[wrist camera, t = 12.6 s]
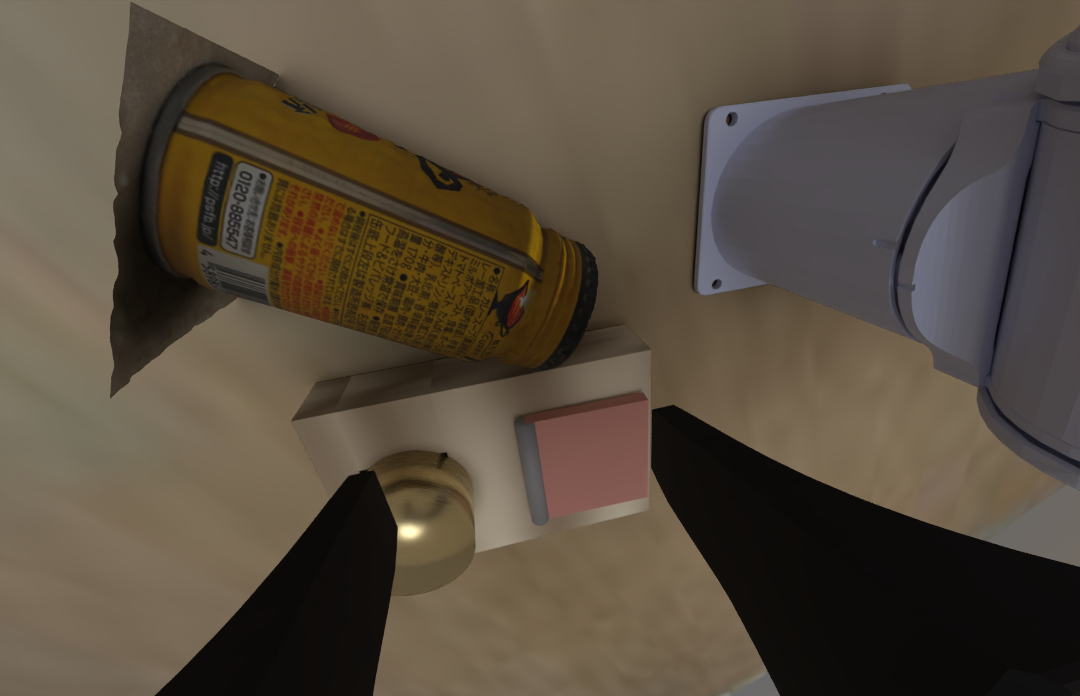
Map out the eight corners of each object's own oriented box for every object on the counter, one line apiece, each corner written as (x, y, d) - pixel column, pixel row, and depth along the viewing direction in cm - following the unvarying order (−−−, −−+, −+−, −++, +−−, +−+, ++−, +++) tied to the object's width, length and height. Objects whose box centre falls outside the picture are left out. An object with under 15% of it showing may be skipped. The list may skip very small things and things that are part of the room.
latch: (643, 392, 18) (651, 403, 17) (643, 488, 20) (649, 501, 19) (512, 417, 17) (515, 430, 16) (530, 512, 20) (533, 527, 19)
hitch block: (625, 324, 20) (651, 349, 17) (628, 471, 24) (649, 509, 21) (315, 382, 18) (290, 421, 15) (381, 529, 22) (370, 579, 20)
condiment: (271, 70, 13) (575, 218, 17) (231, 297, 16) (503, 374, 20) (112, -9, 7) (654, 256, 11) (90, 396, 9) (533, 476, 14)
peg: (478, 417, 20) (485, 505, 15) (463, 493, 22) (465, 593, 17) (371, 409, 19) (338, 502, 14) (365, 490, 21) (335, 598, 16)
